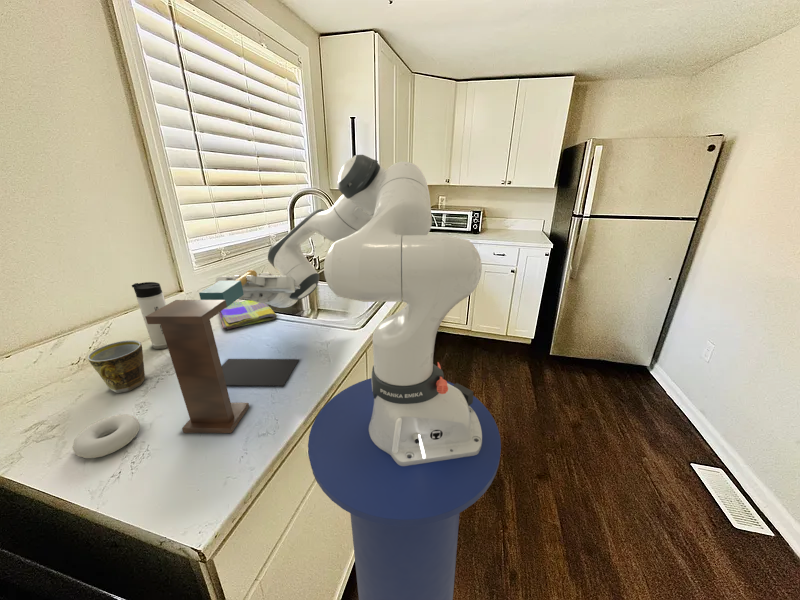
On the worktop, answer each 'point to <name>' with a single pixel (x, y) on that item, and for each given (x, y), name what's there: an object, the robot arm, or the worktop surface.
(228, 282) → the mallet
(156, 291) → the travel mug
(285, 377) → the mat
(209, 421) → the brown wooden pedestal
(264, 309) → the dish towel
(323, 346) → the worktop surface
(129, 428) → the donut
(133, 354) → the ceramic cup
